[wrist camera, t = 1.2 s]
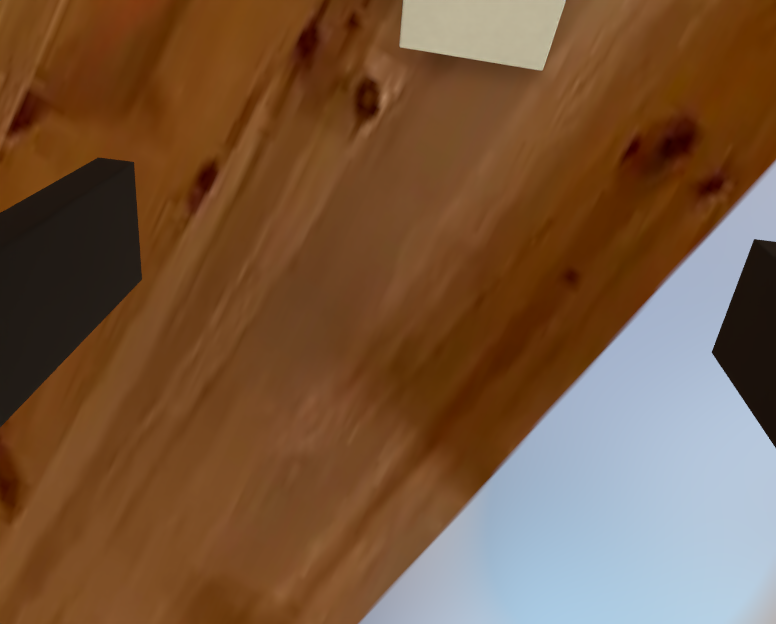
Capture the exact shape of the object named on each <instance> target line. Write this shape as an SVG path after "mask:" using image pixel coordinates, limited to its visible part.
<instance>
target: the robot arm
mask: <svg viewBox="0 0 776 624" xmlns="http://www.w3.org/2000/svg"><path fill="white" fill-rule="evenodd" d="M141 280H142V274H141V259H140V245H139V231H138V216H137V202H136V187H135V173H134V162H129V161H121V160H113V159H105V158H97V159H95V160H93V161H91V162H90V163H88V164H86V165H84V166H83V167H81V168H79V169H77V170H76V171H74V172H72V173H70V174H68V175H67V176H65V177H63V178H61V179H60V180H58V181H56V182H54V183H53V184H51V185H49V186H47V187H46V188H44V189H42V190H40V191H38V192H37V193H35V194H33V195H31V196H30V197H28V198H26V199H24V200H23V201H21V202H19V203H17V204H15V205H14V206H12V207H10V208H8V209H7V210H5V211H3V212H1V213H0V427H1V426H2V425H3V424H4V423H5V422H6V421H7V420H8V419H9V418H10V416H11V415H12V414H13V413H14V412H15V411H16V410H17V409H18V408H19V407H20V406H21V405H22V404H23V403H24V402H25V401H26V400H27V399H28V398H29V397H30V396H31V395H32V394H33V392H34V391H35V390H36V389H37V388H38V387H39V386H40V385H41V384H42V383H43V382H44V381H45V380H46V379H47V378H48V377H49V376H50V375H51V374H52V373H53V372H54V371H55V370H56V368H57V367H58V366H59V365H60V364H61V363H62V362H63V361H64V360H65V359H66V358H67V357H68V356H69V355H70V354H71V353H72V352H73V351H74V350H75V349H76V348H77V347H78V346H79V344H80V343H81V342H82V341H83V340H84V339H85V338H86V337H87V336H88V335H89V334H90V333H91V332H92V331H93V330H94V329H95V328H96V327H97V326H98V325H99V324H100V323H101V322H102V320H103V319H104V318H105V317H106V316H107V315H108V314H109V313H110V312H111V311H112V310H113V309H114V308H115V307H116V306H117V305H118V304H119V303H120V302H121V301H122V300H123V299H124V298H125V296H126V295H127V294H128V293H129V292H130V291H131V290H132V289H133V288H134V287H135V286H136V285H137V284H138V283H139V282H140V281H141ZM712 353H713V355H714V356H715V358H716V360H717V361H718V363H719V364H720V366H721V367H722V368H723V370H724V371H725V373H726V374H727V376H728V377H729V379H730V380H731V382H732V383H733V385H734V386H735V388H736V389H737V391H738V392H739V394H740V395H741V397H742V398H743V400H744V401H745V403H746V404H747V406H748V407H749V409H750V410H751V411H752V413H753V415H754V416H755V418H756V419H757V421H758V422H759V424H760V425H761V426H762V428H763V430H764V431H765V433H766V434H767V436H768V437H769V439H770V440H771V442H772V443H773V445H774V446H775V447H776V242H771V241H764V240H756V239H754V241H753V244H752V246H751V249H750V252H749V255H748V257H747V260H746V263H745V265H744V268H743V271H742V273H741V276H740V278H739V281H738V284H737V286H736V289H735V292H734V294H733V297H732V300H731V302H730V305H729V308H728V311H727V313H726V316H725V319H724V321H723V324H722V326H721V329H720V332H719V334H718V337H717V340H716V342H715V345H714V348H713V350H712Z"/></svg>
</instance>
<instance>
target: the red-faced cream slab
mask: <svg viewBox="0 0 776 624" xmlns="http://www.w3.org/2000/svg"><path fill="white" fill-rule="evenodd" d="M565 2H566V0H403V5H402V18H401V30H400V43H399V46H400V47H402V48H408V49H414V50H420V51H426V52H432V53H438V54H444V55H450V56H456V57H462V58H468V59H474V60H480V61H486V62H492V63H498V64H504V65H510V66H516V67H522V68H528V69H534V70H540V71H542V70H543V68H544V65H545V62H546V59H547V56H548V53H549V50H550V47H551V44H552V41H553V38H554V35H555V32H556V29H557V26H558V23H559V20H560V17H561V14H562V11H563V8H564V5H565Z"/></svg>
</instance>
